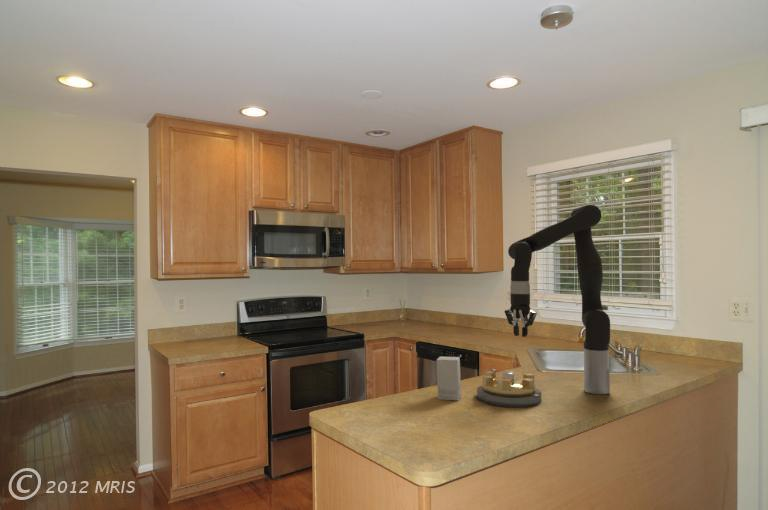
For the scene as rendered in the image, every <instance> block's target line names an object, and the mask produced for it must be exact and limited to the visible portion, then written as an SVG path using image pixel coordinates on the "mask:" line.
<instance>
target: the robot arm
mask: <svg viewBox="0 0 768 510" xmlns="http://www.w3.org/2000/svg"><path fill="white" fill-rule="evenodd" d="M601 220H602V211H601V209H600V208H599V207H598V206H597V205H595V204H584V205H581V206H577V207H575V208H574V209H572V211H571V213H570V217H567V218H565V219H564V220H562V221H560V222H559V221H558V222H557V223H554V224H552V225H549V226H546V227H544V228H542V229H540V230H539V231H537V232H535V233H533V234H531V235H529V236H527V237H524V238H522V239H519V240H517V241H514V242H513V243H512V244H510V246H509V247H508V249H507V250H508V251H507V253H508V256H509V258H511V259H513V260H514V264H513V266H512V267H511V270H510V287H509V288H510V289H509V290H510V295H509V296H510V298H509V299H510V307H509V309H505V310H504V314H505V317H506V319H507V322H508V324H509V325H512V327H513V335H514V336H515V337H518V336H520V326H519V324H520V322H521V325H522V327H521V337H523V338H526V337H528V334H529V333H528V332H529V331H528V329H529V328H528V327H531V326H533V324H534V321H535V319H536V317H537V314H538V313H537V312H536V311H533V310H531V307H530V305H531V285H530V267H531V263H532V256H533V253H534V252H538V251H541V250H543V249H546V248H548V247H550V246H552V245H553V244H555V243H556V242H559V241H560V240H563V239H565V238H566V237H568V236H570V235H573V237H574V238H573V239H574V244H575V245H574V246H575V254H576V263H577V275H578V282H579V288H580V289H579V290H580V294H581V321H582V324H583V326H584V327H585V338H584V341H583V391H584V392H586V393H588V394H593V395H611V388H610V387H611V382H610V381H611V380H610V378H611V377H610V371H611V370H610V368H609V367H610V360H609V353H610V352H609V350H610V349H609V347H610V346H609V345H610V342H611V320H610V316H609V314H608V313H607V312H606V311H604V309H603V305H602V298H601V294H602V293H601V292H602V286H603V280H604V279H603V278H604V277H603V274H604V273H603V265H602V264H603V263H602V258H601V255H600V253H599V251H598V249H597V247H596V245H595V243H594V240H593V236H592V227H595V226H596V225H598V224H599V223H600V222H601Z"/></svg>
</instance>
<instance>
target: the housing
mask: <svg viewBox="0 0 768 510" xmlns="http://www.w3.org/2000/svg"><path fill="white" fill-rule="evenodd" d="M476 399H477V400H478V401H479V402H481V403H482V404H486V405H489V406H492V407H493V406H495V407H500V408H508V409H524V408H530V407H531V408H532V407H535V406H538V405H540V404H541V403H542V391H541V390H540V389H539V388H536V393H535V394H533V395H530V396H525V397H503V396H496V395H492V394H489V393H486V392H484V391H483V390H482V385H480V386H478V387H476Z"/></svg>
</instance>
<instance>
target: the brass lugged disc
mask: <svg viewBox="0 0 768 510" xmlns="http://www.w3.org/2000/svg"><path fill="white" fill-rule="evenodd" d="M496 376H497V375H496V371H492V370H488V371H485V372H484V375H482V381H481V386H482V390H483V391H484V392H486V393H489V394H492V395H496V396H503V397H525V396H530V395H533V394H535V393H536V389H537V387H536V386H537V384H536V383H535V374H534V373H533V374H532V373H531V372H530V373H529V372H528V373H523V376H522V377H523V378H519V377H515V370H514V369H513V370H512V369H506V370H505V371H503V372H502V377H501V376H500V377H499V376H498V377H496Z"/></svg>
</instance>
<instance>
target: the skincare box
mask: <svg viewBox="0 0 768 510" xmlns="http://www.w3.org/2000/svg"><path fill="white" fill-rule="evenodd" d="M436 382H437V383H436V384H437V386H436V387H437V400H443V401H444V400H446V401H459V400H460V399H461V397H462V384H461V382H462V381H461V360H460V356H441V355H440V356H439V357H438V358H437V359H436Z"/></svg>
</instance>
